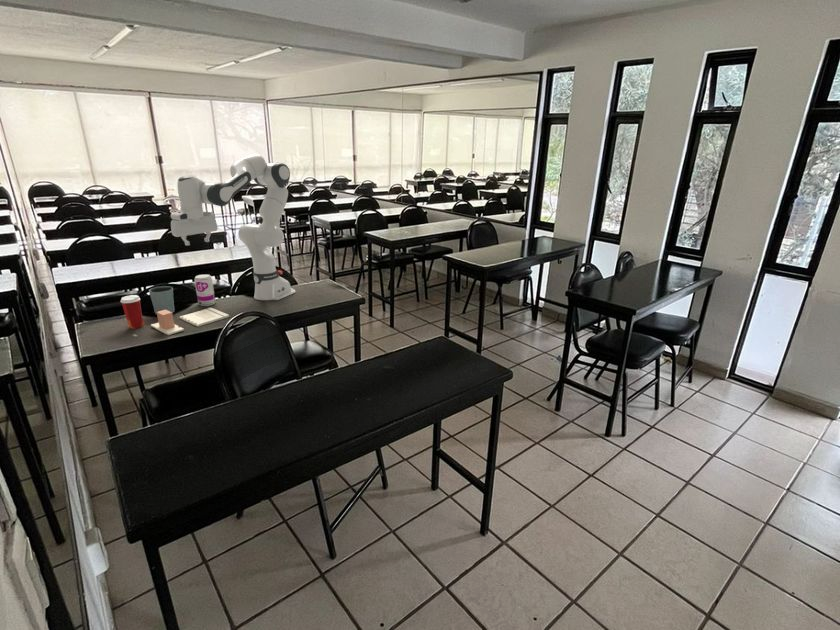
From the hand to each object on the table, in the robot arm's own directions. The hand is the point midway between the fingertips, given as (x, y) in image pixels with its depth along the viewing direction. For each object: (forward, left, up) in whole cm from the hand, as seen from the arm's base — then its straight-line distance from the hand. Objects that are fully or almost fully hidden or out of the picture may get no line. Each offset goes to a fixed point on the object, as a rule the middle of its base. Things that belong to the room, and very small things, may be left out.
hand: (197, 243), depth 213 cm
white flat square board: (+4, +3, -35) cm, 35 cm away
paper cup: (+29, -11, -35) cm, 47 cm away
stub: (+22, +3, -35) cm, 41 cm away
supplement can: (-7, -14, -35) cm, 39 cm away
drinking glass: (+12, -19, -35) cm, 42 cm away
